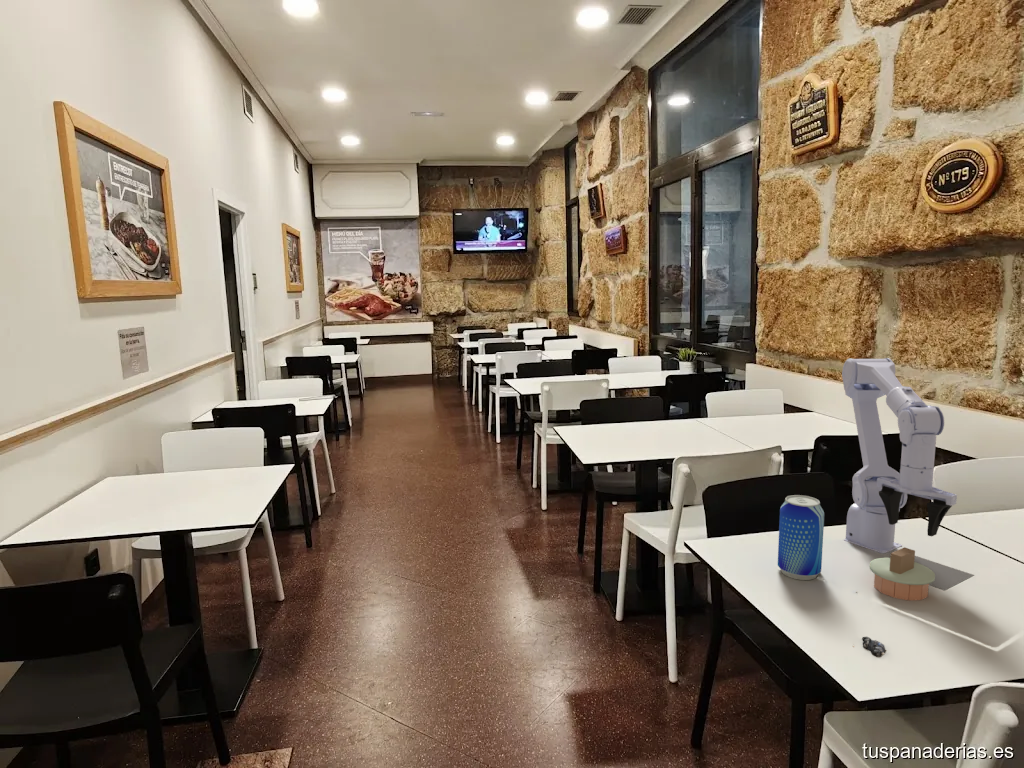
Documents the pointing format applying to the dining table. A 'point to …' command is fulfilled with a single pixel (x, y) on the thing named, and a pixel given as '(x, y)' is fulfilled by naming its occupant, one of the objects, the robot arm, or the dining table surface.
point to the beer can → (800, 537)
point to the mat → (943, 574)
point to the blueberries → (873, 647)
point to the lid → (902, 568)
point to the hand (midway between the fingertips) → (912, 529)
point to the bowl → (900, 589)
